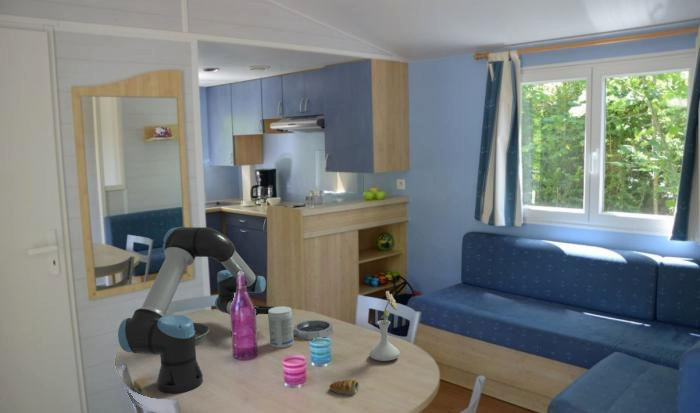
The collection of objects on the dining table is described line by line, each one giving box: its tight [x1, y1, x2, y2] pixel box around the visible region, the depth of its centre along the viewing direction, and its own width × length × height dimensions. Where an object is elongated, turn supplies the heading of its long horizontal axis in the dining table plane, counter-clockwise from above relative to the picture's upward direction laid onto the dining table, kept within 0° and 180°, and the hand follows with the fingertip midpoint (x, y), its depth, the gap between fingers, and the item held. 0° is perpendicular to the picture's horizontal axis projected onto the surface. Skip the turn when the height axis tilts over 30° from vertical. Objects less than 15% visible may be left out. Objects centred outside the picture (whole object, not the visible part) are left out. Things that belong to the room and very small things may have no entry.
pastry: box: [329, 378, 360, 396], centre depth 188 cm, size 9×7×4 cm
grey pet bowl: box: [293, 319, 334, 341], centre depth 244 cm, size 16×16×3 cm
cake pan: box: [193, 322, 211, 347], centre depth 240 cm, size 25×25×4 cm
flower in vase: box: [369, 290, 401, 362], centre depth 213 cm, size 13×11×25 cm
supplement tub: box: [267, 305, 295, 349], centre depth 231 cm, size 10×10×15 cm
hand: (266, 318), depth 238 cm, fingers open, 13 cm apart
